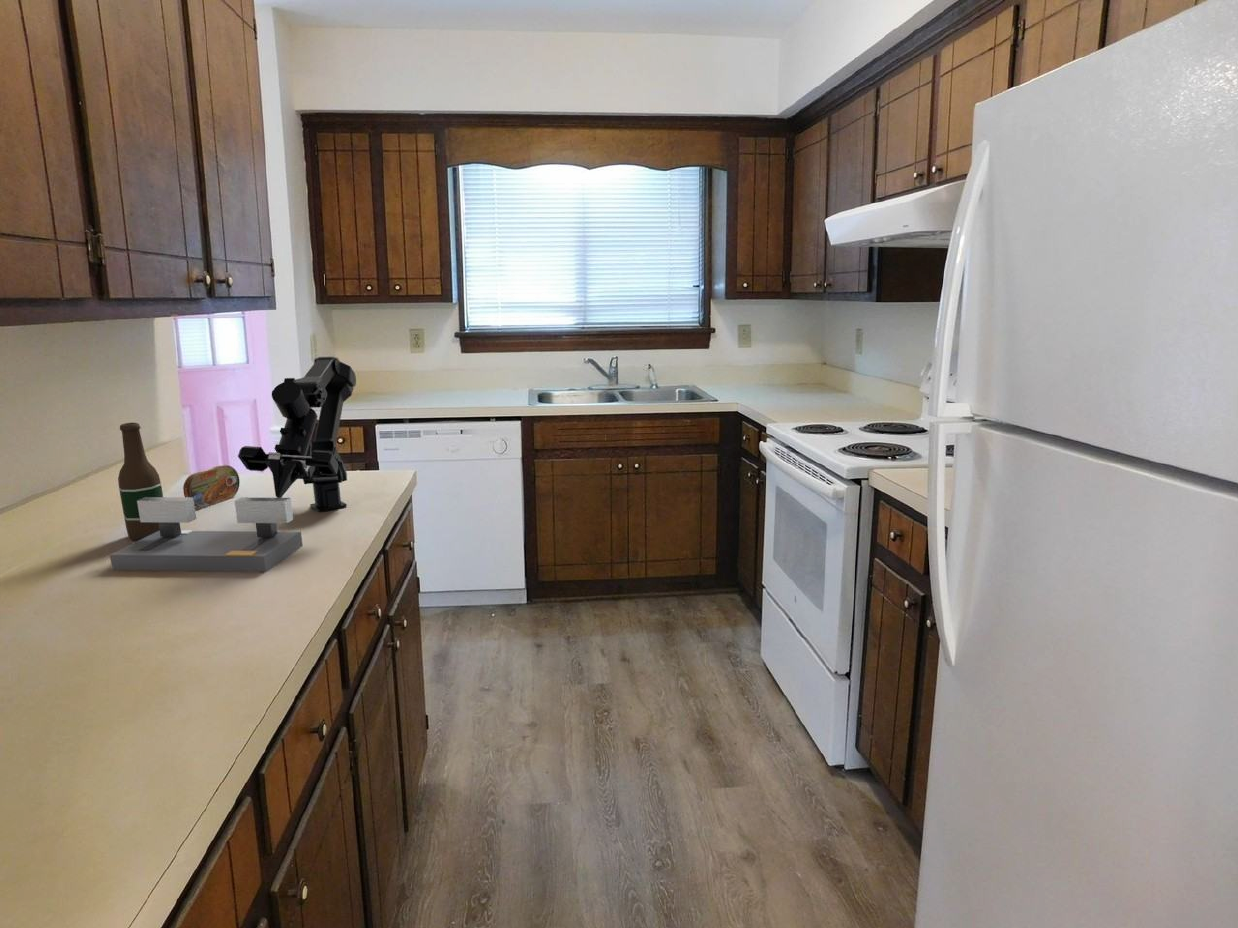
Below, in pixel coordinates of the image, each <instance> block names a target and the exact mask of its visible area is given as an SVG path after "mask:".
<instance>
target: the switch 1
mask: <svg viewBox="0 0 1238 928" xmlns="http://www.w3.org/2000/svg"><path fill="white" fill-rule="evenodd" d="M137 504H138V510H139V516H140V521H141V522H158V524H159V530H160V536H161V537H175V536H177V535H179V534H181V530H182V529H181V523H185V524H186V523H188V524H189V523H191V522H193V521H195V520H197V514H196V507H194V500H193V497H185V496H183V497H182V496H181V497H180V496H179V497H175V496H171V497H170V496H169V497H165V496H163V497H145V498H142V499H140V500H137Z"/></svg>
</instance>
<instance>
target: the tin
mask: <svg viewBox="0 0 1238 928" xmlns="http://www.w3.org/2000/svg"><path fill="white" fill-rule="evenodd" d="M239 487H240V476H239V473H238V472H237V470H236V469H235V468H234V467H233V466H231V465H227V464H226V465H225V464H224V465H216V466H214V467H210V468H207V469H204V470H201V471H198V472H194V473H191V474H190V475H189V476H188V477H186V479H185V481H184V483H183V486H182V489H183V497H193V500H194V507H195V508H202V509H203V508H205V509H206V508H208V506H209V507H211V505H212V506H214V505H217V504H219V502H220V503H222V502H225V501H227V500H231V499H232V498H234V497H235V496H236V495H237V493H238V490H239V489H240V488H239ZM216 503H217V504H216Z"/></svg>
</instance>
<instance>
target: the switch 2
mask: <svg viewBox="0 0 1238 928" xmlns="http://www.w3.org/2000/svg"><path fill="white" fill-rule="evenodd" d="M291 498H292V497H281V498H277V497H240V498H238V499H236V500H234V506H235V515H236V519H237V523H238V524H255V531H257V537H271V538H272V537H274V536H275V535H277V532H278V529H277V524H288V523H290V522H291V521H294V515H293V514H294V513H293V508H292V507H293V506H292V499H291Z"/></svg>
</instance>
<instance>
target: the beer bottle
mask: <svg viewBox="0 0 1238 928" xmlns="http://www.w3.org/2000/svg"><path fill="white" fill-rule="evenodd" d="M119 430H120V431H121V435H122V436H121V437H122V445H123V447H122V448H123V455H124V456H123V457H124V459H123V464H122V466H121V468H120V470H119V473H118V476H117V481H118V490H119V494H120V496H119V497H120V502H121V507H122V512H123V519H124V525H125V530H126V532H127V533H126V534H127V536H128V537H129V539H130V540H131V541H132V542H133V541H135V542H137V541H139V540H141V539H143V538H145V537H147V536H149V535H151V534H153V533H155V532H157V531H160V530H159V524H158V522H141V521H140V516H139V510H138V504H137V500H140V499H142V498H145V497H164V494H163V493H164V492H163V488H162V483H161V482H162V481H161V478H160V475H159V473H158V472H157V469H156V468H155V467H154V466H153V465H152V464H151V462H149V461H148V458H147V456H146V452H145V448H144V444H143V440H142V437H141V436H142V435H141V432H140V430H141V425H140V424H139V422H126V423H122V424H120V425H119Z"/></svg>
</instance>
